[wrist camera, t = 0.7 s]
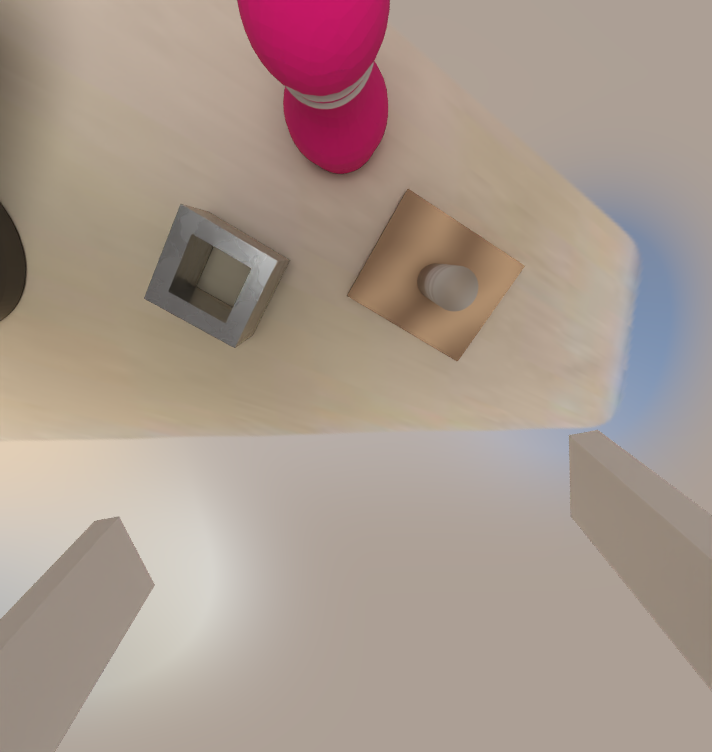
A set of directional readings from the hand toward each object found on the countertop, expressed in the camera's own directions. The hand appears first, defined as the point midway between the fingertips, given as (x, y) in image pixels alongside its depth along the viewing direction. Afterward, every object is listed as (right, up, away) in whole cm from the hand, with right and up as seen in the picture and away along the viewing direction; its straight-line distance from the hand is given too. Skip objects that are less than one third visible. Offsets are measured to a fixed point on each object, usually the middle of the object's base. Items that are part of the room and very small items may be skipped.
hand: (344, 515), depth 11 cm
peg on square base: (+7, +13, +22) cm, 27 cm away
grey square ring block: (-11, +13, +23) cm, 28 cm away
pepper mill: (-1, +24, +19) cm, 31 cm away
